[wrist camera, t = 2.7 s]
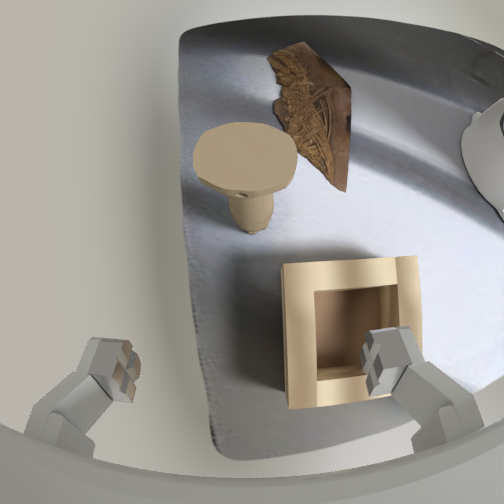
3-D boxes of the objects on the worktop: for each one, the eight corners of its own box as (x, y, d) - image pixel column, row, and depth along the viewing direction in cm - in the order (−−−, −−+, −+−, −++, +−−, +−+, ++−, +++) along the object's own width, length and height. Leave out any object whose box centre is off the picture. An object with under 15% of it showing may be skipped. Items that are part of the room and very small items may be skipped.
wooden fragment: (264, 44, 38) (264, 39, 37) (334, 45, 37) (335, 40, 36) (284, 195, 33) (284, 192, 32) (375, 191, 33) (378, 188, 32)
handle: (226, 198, 33) (199, 121, 18) (284, 202, 33) (298, 125, 18) (221, 240, 32) (187, 187, 17) (282, 245, 32) (296, 194, 17)
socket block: (394, 263, 31) (417, 255, 25) (398, 377, 29) (420, 388, 23) (279, 270, 31) (283, 263, 26) (285, 392, 29) (288, 409, 24)
